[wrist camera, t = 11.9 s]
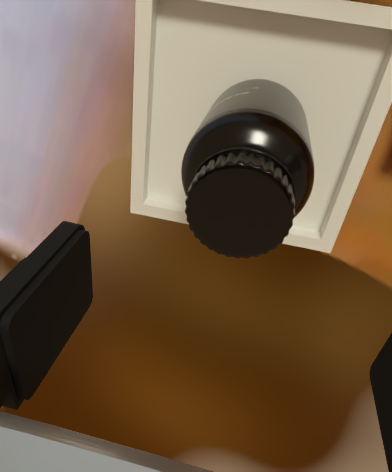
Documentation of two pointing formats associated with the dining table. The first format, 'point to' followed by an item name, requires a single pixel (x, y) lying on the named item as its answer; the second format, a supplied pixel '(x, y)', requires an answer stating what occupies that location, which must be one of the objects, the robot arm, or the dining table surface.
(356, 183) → the tray
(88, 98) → the dining table surface
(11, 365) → the robot arm
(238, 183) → the supplement bottle
